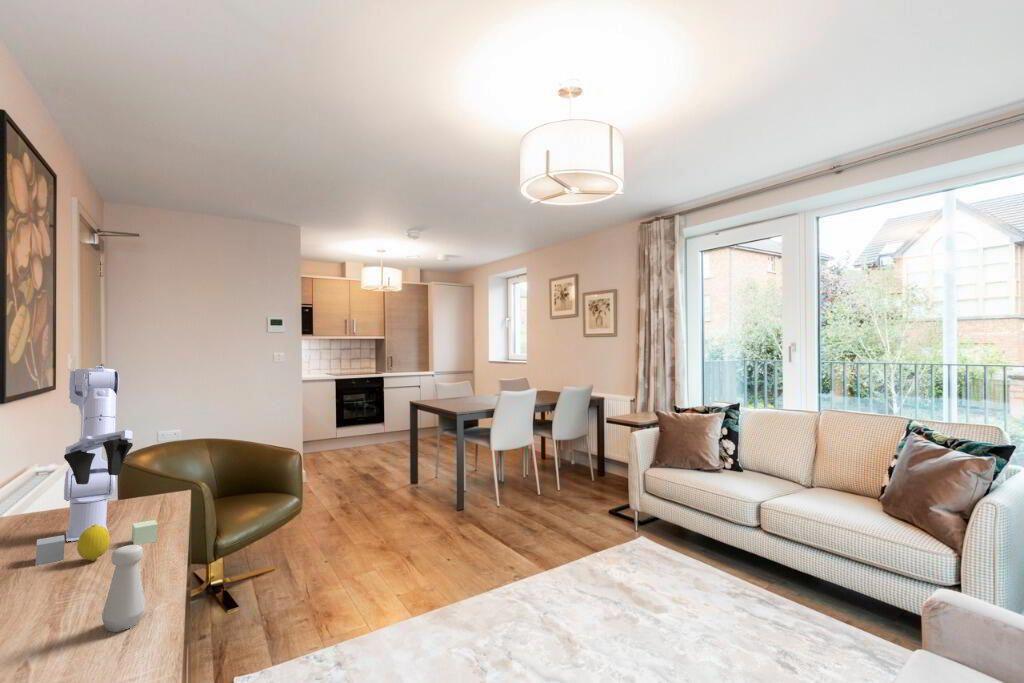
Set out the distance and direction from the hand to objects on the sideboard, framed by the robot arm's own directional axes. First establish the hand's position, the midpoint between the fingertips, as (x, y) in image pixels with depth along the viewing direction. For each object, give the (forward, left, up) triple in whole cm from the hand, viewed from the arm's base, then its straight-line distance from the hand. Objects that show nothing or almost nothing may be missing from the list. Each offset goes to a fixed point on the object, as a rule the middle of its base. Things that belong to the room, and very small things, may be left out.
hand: (98, 479), depth 108 cm
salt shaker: (+36, +2, -19) cm, 41 cm away
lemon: (-2, 0, -19) cm, 19 cm away
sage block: (-9, +10, -18) cm, 23 cm away
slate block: (-9, -7, -18) cm, 21 cm away
